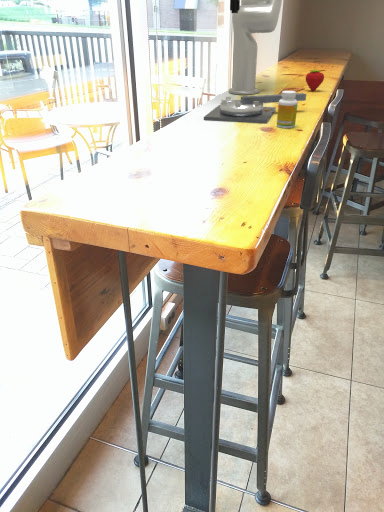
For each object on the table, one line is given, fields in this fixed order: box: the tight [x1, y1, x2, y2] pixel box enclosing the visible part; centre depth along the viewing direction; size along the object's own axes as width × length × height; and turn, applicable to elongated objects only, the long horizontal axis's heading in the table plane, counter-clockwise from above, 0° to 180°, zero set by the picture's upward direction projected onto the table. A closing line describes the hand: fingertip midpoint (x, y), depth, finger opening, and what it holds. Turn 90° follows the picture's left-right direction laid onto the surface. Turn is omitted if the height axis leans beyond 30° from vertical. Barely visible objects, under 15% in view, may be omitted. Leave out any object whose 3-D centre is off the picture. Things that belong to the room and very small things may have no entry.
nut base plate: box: [203, 104, 277, 124], centre depth 135 cm, size 20×20×1 cm
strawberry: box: [305, 67, 325, 92], centre depth 170 cm, size 6×8×10 cm
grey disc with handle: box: [219, 92, 307, 116], centre depth 135 cm, size 29×14×4 cm, turn 103°
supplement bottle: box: [276, 90, 299, 129], centre depth 119 cm, size 5×5×10 cm
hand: (234, 12), depth 140 cm, fingers closed
